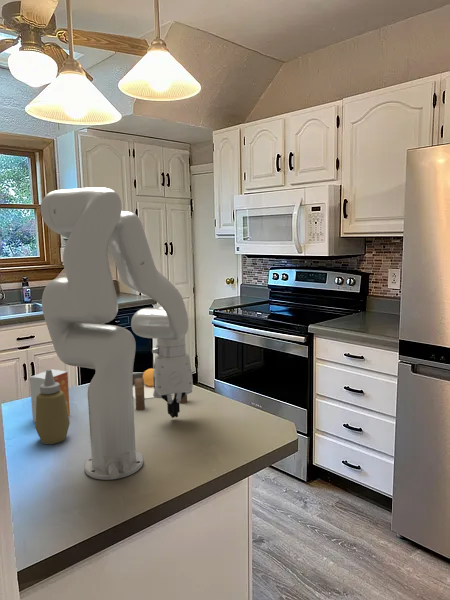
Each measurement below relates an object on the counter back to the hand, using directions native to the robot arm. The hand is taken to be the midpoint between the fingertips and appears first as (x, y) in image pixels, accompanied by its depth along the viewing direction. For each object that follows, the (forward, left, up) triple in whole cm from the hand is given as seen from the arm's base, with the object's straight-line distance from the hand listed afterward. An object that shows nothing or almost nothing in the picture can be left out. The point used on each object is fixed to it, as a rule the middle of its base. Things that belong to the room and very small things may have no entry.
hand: (173, 415), depth 126 cm
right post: (+13, -7, -2) cm, 15 cm away
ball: (+32, -1, +2) cm, 32 cm away
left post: (+13, +7, -2) cm, 15 cm away
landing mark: (+27, 0, -2) cm, 27 cm away
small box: (+16, +31, -2) cm, 35 cm away
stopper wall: (+37, 0, -2) cm, 37 cm away
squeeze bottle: (+1, +31, -2) cm, 31 cm away
